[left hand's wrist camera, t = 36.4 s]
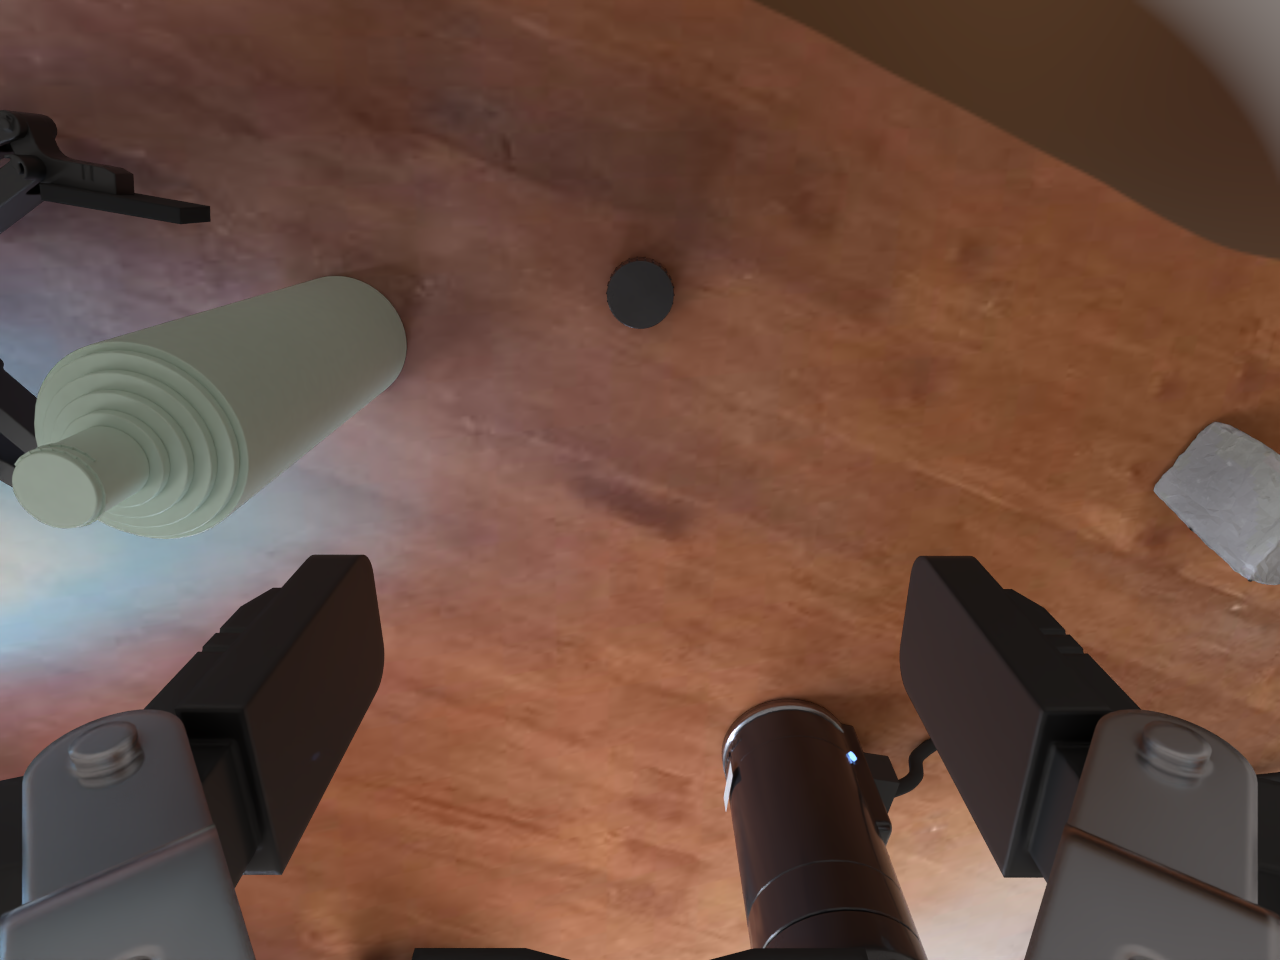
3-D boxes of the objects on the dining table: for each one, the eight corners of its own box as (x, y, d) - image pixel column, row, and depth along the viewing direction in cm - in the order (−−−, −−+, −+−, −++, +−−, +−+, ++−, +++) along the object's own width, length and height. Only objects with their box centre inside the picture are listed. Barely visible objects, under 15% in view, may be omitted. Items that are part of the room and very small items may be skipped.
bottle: (432, 340, 46) (228, 493, 23) (355, 423, 48) (97, 639, 25) (332, 248, 44) (2, 316, 21) (256, 338, 46) (-120, 489, 23)
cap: (660, 246, 44) (661, 249, 42) (681, 311, 45) (683, 316, 43) (598, 269, 44) (596, 273, 42) (620, 332, 46) (619, 339, 44)
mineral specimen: (1127, 538, 50) (1225, 572, 42) (1185, 414, 49) (1297, 425, 41) (1224, 574, 50) (1339, 615, 42) (1284, 453, 49) (1413, 471, 41)
